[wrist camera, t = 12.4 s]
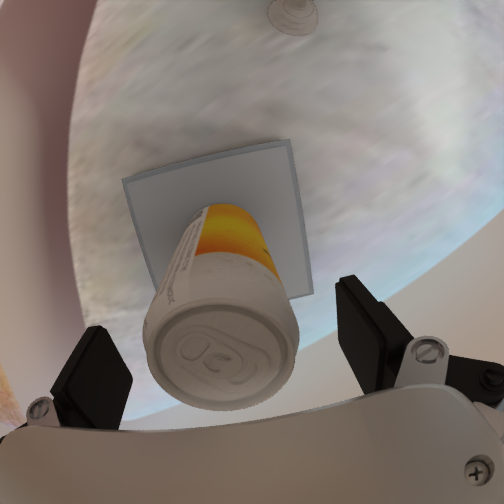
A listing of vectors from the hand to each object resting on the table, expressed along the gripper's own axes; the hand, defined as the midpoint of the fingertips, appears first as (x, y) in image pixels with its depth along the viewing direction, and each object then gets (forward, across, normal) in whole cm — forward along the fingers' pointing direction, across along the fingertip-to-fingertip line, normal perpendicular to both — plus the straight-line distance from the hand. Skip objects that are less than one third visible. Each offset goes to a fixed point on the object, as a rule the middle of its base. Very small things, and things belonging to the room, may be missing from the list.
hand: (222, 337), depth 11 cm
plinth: (+18, 0, +1) cm, 18 cm away
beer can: (+14, 0, 0) cm, 14 cm away
